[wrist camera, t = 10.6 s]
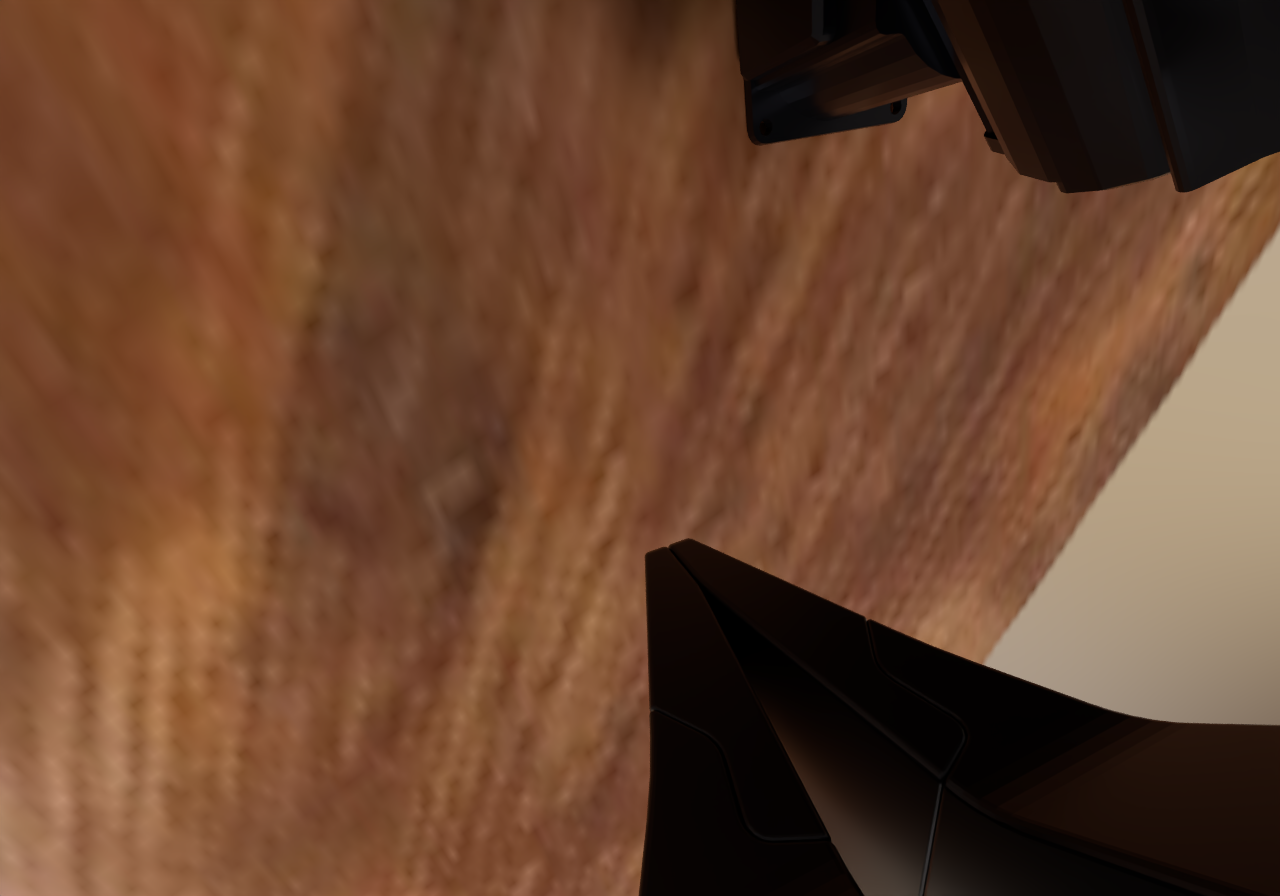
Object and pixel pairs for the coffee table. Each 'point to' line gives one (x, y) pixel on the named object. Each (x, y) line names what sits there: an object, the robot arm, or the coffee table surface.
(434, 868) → the coffee table surface
